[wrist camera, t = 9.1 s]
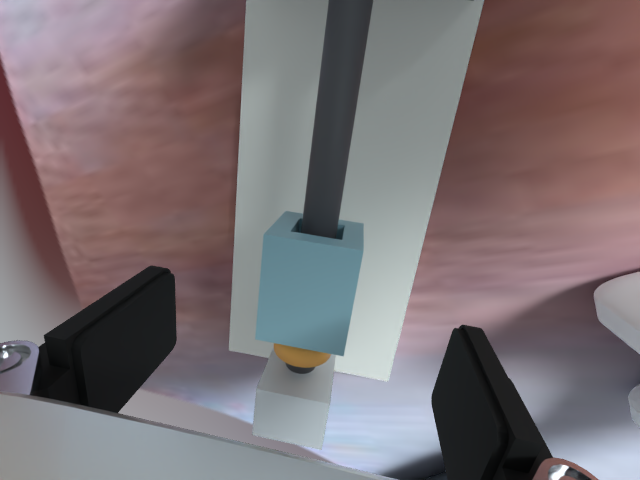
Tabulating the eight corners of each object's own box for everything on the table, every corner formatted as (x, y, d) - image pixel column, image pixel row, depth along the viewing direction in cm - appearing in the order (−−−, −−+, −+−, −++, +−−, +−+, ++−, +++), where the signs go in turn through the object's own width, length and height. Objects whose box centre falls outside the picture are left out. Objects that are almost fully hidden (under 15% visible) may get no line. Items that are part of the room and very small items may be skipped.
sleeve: (285, 210, 17) (263, 234, 13) (363, 223, 17) (363, 251, 13) (277, 296, 19) (255, 339, 15) (347, 309, 18) (343, 356, 15)
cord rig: (260, -121, 17) (151, -385, 8) (502, -99, 16) (669, -371, 7) (234, 340, 26) (170, 446, 17) (387, 370, 25) (399, 497, 16)
